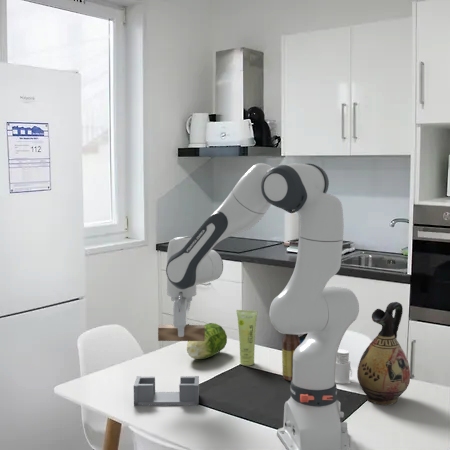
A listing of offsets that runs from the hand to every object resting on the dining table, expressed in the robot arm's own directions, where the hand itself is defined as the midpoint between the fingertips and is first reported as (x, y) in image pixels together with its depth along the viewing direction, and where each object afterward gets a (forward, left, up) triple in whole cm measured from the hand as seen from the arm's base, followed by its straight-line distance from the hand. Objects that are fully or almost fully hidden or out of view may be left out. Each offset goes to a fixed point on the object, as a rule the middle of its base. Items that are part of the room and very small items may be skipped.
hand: (181, 333), depth 187 cm
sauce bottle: (+14, -36, -20) cm, 43 cm away
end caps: (-4, +4, -19) cm, 20 cm away
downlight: (+12, -52, -20) cm, 57 cm away
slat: (0, 0, -2) cm, 2 cm away
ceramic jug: (-4, -62, -20) cm, 65 cm away
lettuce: (+36, -7, -20) cm, 42 cm away
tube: (+29, -22, -20) cm, 41 cm away
